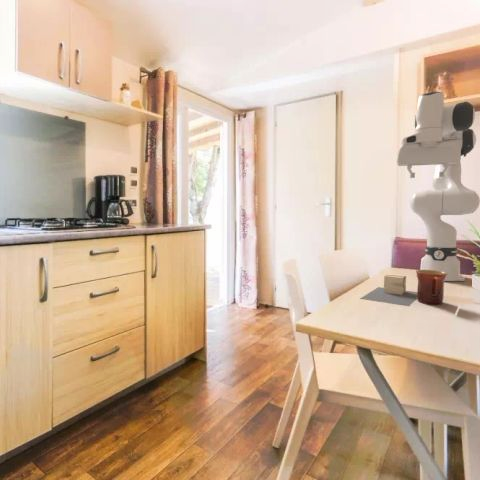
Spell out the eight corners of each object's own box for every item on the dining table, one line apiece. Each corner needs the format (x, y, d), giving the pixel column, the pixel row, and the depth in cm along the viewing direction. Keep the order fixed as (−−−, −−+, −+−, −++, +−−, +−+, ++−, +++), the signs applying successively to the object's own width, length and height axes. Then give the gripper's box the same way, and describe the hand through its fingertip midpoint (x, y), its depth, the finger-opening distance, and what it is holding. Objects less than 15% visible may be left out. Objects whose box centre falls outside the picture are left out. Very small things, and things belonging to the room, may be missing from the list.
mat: (378, 288, 132) (378, 287, 132) (421, 294, 123) (421, 292, 123) (359, 300, 114) (359, 298, 114) (408, 307, 105) (409, 306, 105)
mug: (411, 299, 115) (412, 269, 115) (439, 300, 114) (441, 270, 113) (422, 309, 104) (424, 275, 103) (454, 311, 102) (456, 277, 101)
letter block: (388, 289, 128) (388, 273, 127) (405, 291, 124) (406, 275, 124) (383, 292, 123) (384, 276, 122) (401, 294, 119) (402, 277, 119)
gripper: (460, 138, 123) (458, 177, 124) (397, 142, 130) (396, 179, 131) (464, 134, 117) (462, 175, 118) (398, 139, 124) (396, 177, 125)
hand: (426, 177), depth 125 cm, fingers open, 8 cm apart
